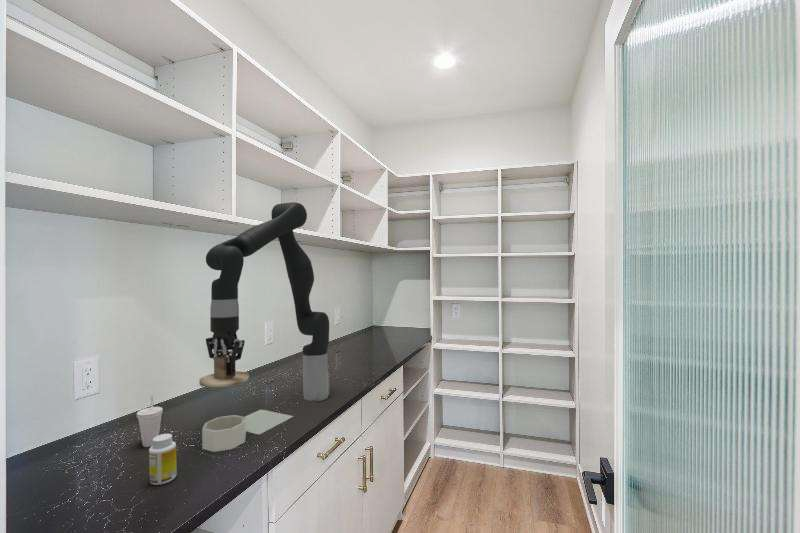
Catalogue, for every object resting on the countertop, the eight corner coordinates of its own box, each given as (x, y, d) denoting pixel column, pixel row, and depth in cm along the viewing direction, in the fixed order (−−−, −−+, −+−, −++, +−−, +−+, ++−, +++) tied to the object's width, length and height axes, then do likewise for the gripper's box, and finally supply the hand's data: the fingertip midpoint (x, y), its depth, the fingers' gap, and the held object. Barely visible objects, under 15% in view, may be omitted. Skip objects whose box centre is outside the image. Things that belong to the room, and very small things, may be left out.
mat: (260, 411, 133) (260, 409, 133) (293, 417, 127) (293, 416, 127) (224, 427, 120) (224, 425, 120) (259, 436, 113) (259, 434, 113)
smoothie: (168, 441, 111) (167, 394, 111) (144, 451, 105) (143, 401, 105) (156, 437, 114) (155, 390, 114) (132, 446, 108) (131, 397, 108)
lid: (228, 372, 118) (228, 350, 118) (258, 377, 112) (258, 353, 112) (189, 383, 106) (189, 359, 106) (220, 389, 101) (220, 363, 101)
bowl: (227, 432, 116) (227, 413, 116) (253, 439, 111) (253, 419, 111) (194, 448, 106) (194, 427, 106) (221, 456, 101) (221, 434, 101)
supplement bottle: (180, 472, 94) (179, 431, 94) (171, 484, 89) (170, 441, 89) (155, 474, 93) (155, 433, 93) (144, 487, 88) (144, 443, 88)
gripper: (252, 314, 110) (252, 373, 110) (219, 312, 116) (219, 368, 116) (231, 317, 103) (231, 380, 103) (196, 315, 109) (196, 374, 109)
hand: (224, 373), depth 109 cm, fingers closed on lid, 4 cm apart
